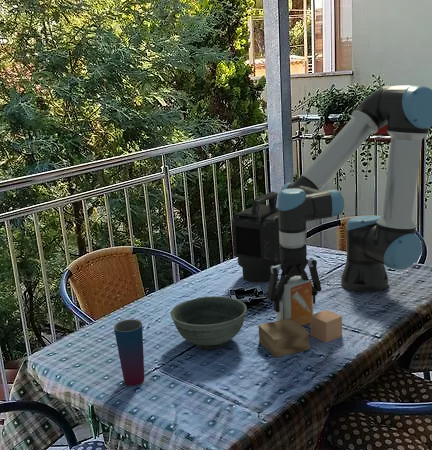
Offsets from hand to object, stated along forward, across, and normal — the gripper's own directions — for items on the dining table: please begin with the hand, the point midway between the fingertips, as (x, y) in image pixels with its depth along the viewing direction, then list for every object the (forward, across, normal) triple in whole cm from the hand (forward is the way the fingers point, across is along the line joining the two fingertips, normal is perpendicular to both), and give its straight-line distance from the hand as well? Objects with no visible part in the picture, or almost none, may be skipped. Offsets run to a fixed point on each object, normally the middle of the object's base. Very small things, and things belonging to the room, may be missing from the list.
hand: (295, 318), depth 171 cm
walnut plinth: (+2, +9, +11) cm, 14 cm away
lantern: (+2, -7, -38) cm, 39 cm away
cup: (+2, +50, +11) cm, 51 cm away
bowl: (+2, +26, 0) cm, 26 cm away
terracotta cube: (+2, -4, +11) cm, 12 cm away
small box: (+2, 0, 0) cm, 2 cm away
